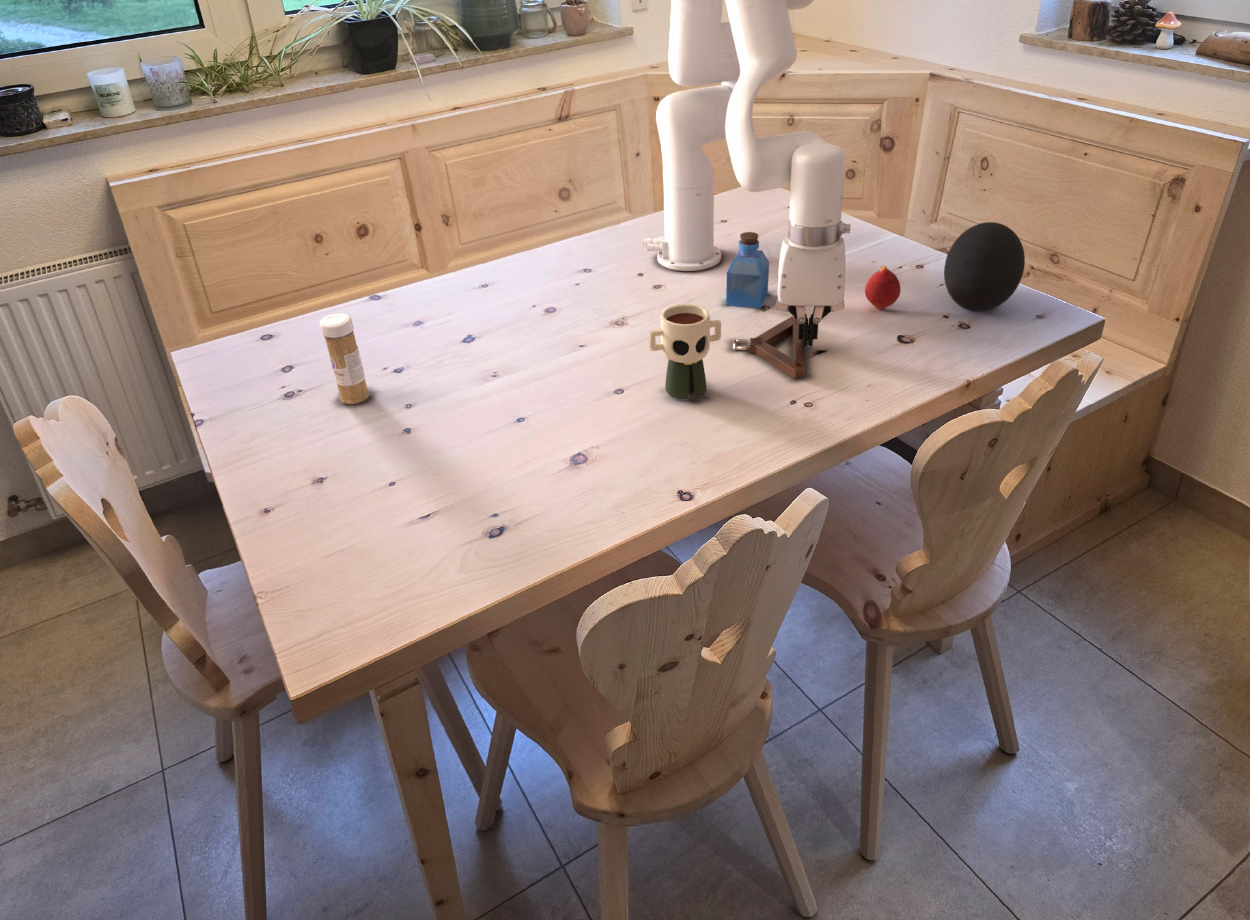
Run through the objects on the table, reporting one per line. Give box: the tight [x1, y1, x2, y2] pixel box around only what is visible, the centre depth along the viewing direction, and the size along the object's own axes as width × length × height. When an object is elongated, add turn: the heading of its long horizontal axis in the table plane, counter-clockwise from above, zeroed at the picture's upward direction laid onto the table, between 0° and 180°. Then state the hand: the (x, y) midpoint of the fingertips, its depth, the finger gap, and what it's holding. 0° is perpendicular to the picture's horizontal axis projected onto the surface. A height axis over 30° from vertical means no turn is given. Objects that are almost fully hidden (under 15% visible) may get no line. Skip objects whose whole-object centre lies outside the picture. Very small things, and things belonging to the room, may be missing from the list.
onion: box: [864, 265, 902, 311], centre depth 152 cm, size 6×6×8 cm
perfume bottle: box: [725, 231, 770, 309], centre depth 157 cm, size 6×6×12 cm
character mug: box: [648, 303, 722, 401], centre depth 131 cm, size 11×7×13 cm, turn 104°
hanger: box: [732, 315, 806, 380], centre depth 144 cm, size 11×19×2 cm, turn 173°
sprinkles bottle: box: [319, 313, 370, 405], centre depth 134 cm, size 5×5×14 cm
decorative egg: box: [943, 221, 1026, 312], centre depth 149 cm, size 12×12×15 cm
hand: (807, 342), depth 143 cm, fingers closed
